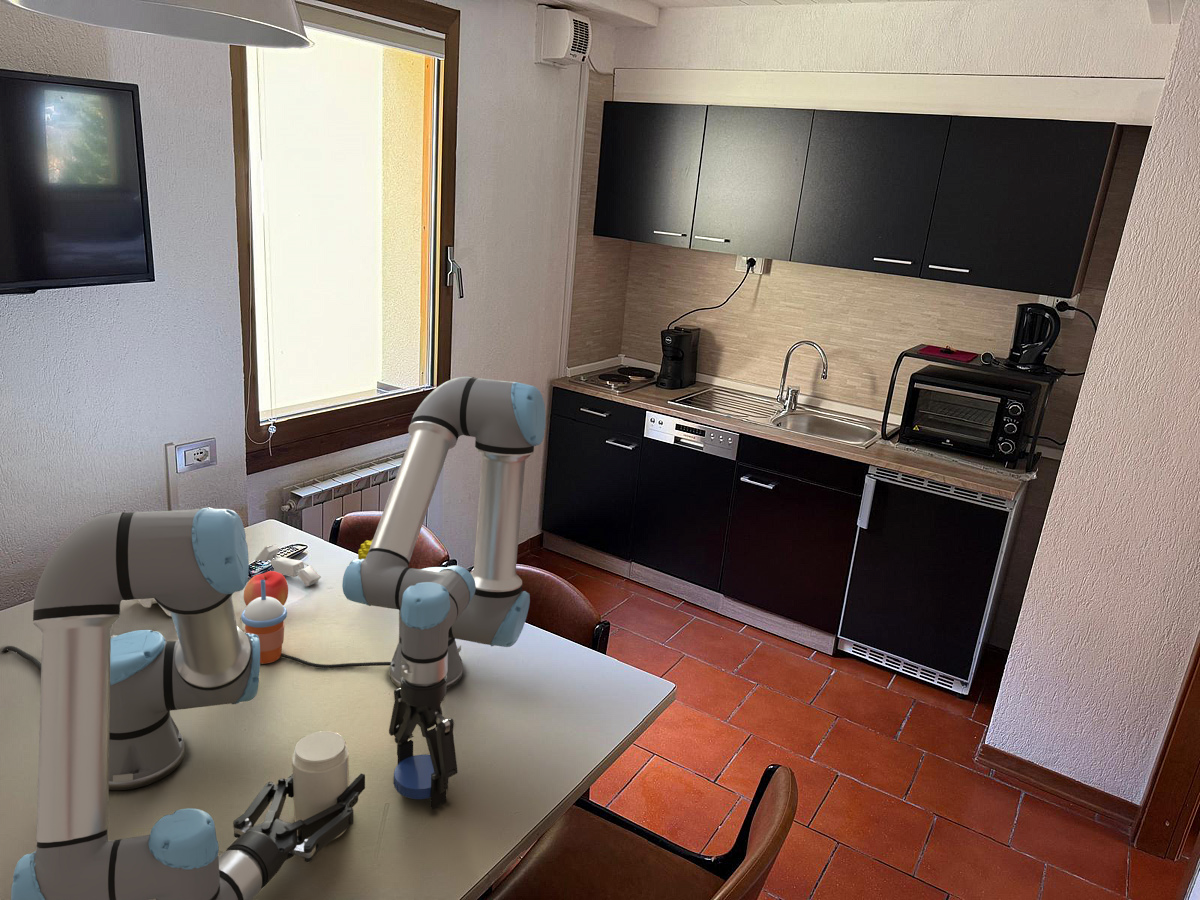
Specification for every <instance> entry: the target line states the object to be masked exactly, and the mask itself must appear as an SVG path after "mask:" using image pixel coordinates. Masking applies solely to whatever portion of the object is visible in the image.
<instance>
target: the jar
mask: <svg viewBox="0 0 1200 900" xmlns="http://www.w3.org/2000/svg"><path fill="white" fill-rule="evenodd" d="M293 750H294V753H293V754H292V757H291V768H292V769H291V770H292V774H293V797H292V798H293V823H294V822H296V821H298V820H302V821H303V820H305V819H307V818H309V817H311V816H313V815H315V814H317V813H319V812H321V811H323V810H325V809H327V808H329V807H331V806H333V805H335V804H337V798H338V797H339V796H340V795H341V794H342V793H343V792H344V791H345V790H346V789H347V788H348V787H349V785H350V779H349V778H350V773H349V772H350V765H349V763H350V762H349V761H350V760H349V757H350V756H349V749H348V746H347V742H346V740H345V738H344V737H343V736H342V734H339V733H338V732H335V731H332V730H319V731H314V732H310V733H308V734H306V735H304V736H303V737H301V738H300V739H299V740H298V741H297V743H296V744H295V746H294V749H293ZM346 831H347V829H346V830H345V831H344V832H342V833H341V834H340V835H339V836H337V837H336V838H335V839H333V840H332V841H334V840H336V839H337V838H339V837H341V836H342V835H343V834H344V833H345V832H346ZM297 836H298V830H297ZM309 838H310V837H309ZM309 838H307V839H309Z"/></svg>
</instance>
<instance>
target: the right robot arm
mask: <svg viewBox="0 0 1200 900" xmlns="http://www.w3.org/2000/svg"><path fill="white" fill-rule="evenodd" d="M546 419H547V417H546V405H545V400H544V397H543V394H542V392H541V391H540V389H538V388H537V386H535V385H532V384H527V383H522V382H519V381H510V380H509V381H508V380H501V379H500V380H499V379H490V378H479V377H474V376H458V377H454V378H451V379H449V380H447V381H445V382H443V383H441V384H440V385H438V386H437V387H436V388H435V389H433V390H432V391H431V392H430V393H429V394H428V395H427V396H426V397H425V398H424V399H423V400H422V402H421V403H420V404H419V405H418V407H417V409H416V410H415V411H414V413H413V415H412V418H411V420H410V423H409V425H408V429H407V432H408V435H410V438H409V440H408V444H407V445H406V449H405V451H404V454H403V457H402V460H401V462H400V465H399V467H398V471H397V473H396V476H395V478H394V480H393V481H394V482H393V483H392V486H391V489H390V492H389V495H388V498H387V500H386V503H385V506H384V509H383V511H382V514H381V516H380V519H379V522H378V524H377V527H376V530H375V533H374V535H373V538H372V539H373V541H372V540H371V541H372V543H371V546H370V549H369V552H368V554H367V556H366V559H358V558H356V559H353V560H351V561H350V563H349V564H348V565H347V566H346V568H345V570H344V573H343V577H342V585H341V586H342V587H341V588H342V592H343V595H344V597H345V598H346V599H347V600H349V601H350V602H354V603H357V604H362V605H366V606H368V607H379V608H385V609H391V610H398V643H397V645H396V648H395V651H394V653H393V656H392V659H391V660H390V661H370V662H369V661H368V662H347V663H336V664H335V663H334V664H333V663H332V664H326V663H325V664H323V663H314V662H310V661H308V660H304V659H301V658H298V657H296V656H292V655H289V654H286V653H281V656H280V658H282V659H283V658H284V659H287V660H291V661H294V662H297V663H299V664H302V665H305V666H308V667H313V668H319V669H339V668H340V669H341V668H355V667H356V668H357V667H378V666H385V667H386V666H389V679H390V681H391V682H392V683H393V684H394V685H395V686H396V687H398V688H397V689H394V690H393V701H394V702H393V708H392V713H391V716H390V717H391V718H390V723H389V728H388V734H389V735H390V736H391V737H393V736H394V742H395V744H396V757H397V765H398V764H399V763H400V762H401V761H402V760H404V759H406V758H408V757H411V756H414V741H413V739H412V738H414V731H415V729H416V727H417V726H418V727H419V730H420V733H421V736H422V737H423V738H425V741H426V746H427V749H428V753H429V755H430V757H431V761H432V765H433V769H434V773H432V774H431V797H430V805H429V806H430V808H431V809H432V810H435V809H436V808H438V807H440V806H441V805H443V804H445V803H447V790H448V788H449V779H450V778H451V777H453V776H455V775H457V774H458V772H459V771H458V763H457V754H456V747H455V739H454V727H455V721H454V719H453V718H452V717H450V718H446V717H445V716H443V710H442V703H443V701H444V699H445V698H446V696H447V689H450V688H451V687H453V686H455V685H456V684H457V683H458V682H459V681H460V680H461V679H462V676H463V672H464V664H463V660H462V657H461V656H460V652H461V650H462V645H460V646H459V647H458V646H457V642H456V640H461V641H466V642H471V643H476V644H482V645H487V646H490V647H503V648H509V647H512V646H514V645H515V644H516V643H517V641H518V640H519V638H520V636H521V633H522V631H523V629H524V626H525V623H526V621H527V617H528V612H529V609H530V603H531V598H530V597H531V595H530V593H529V592H527V591H526V590H523V579H522V578H521V577H520V576H519V575H518V574H517V564H518V563H517V561H518V551H519V540H520V539H519V538H520V529H521V528H520V526H521V516H522V504H523V503H522V502H523V492H524V491H523V490H524V481H525V480H524V479H525V468H526V461H527V459H528V458H529V457H530V456H532V455H533V454H534V452H535V447H536V446H540V445H541V444H542V442H543V441H544V437H545V430H546V423H547V422H546ZM461 436H465V437H472V438H475V443H474V449H475V450H476V451H477V453H479V455H480V457H481V465H480V477H479V478H480V480H479V491H478V492H479V493H478V505H477V518H476V519H477V520H476V530H475V531H476V532H475V533H476V534H475V545H474V559H473V570H471V572H470V571H469V570H468V569H467V568H466V567H465V568H464V567H462V566H461V565H456V564H455V565H448V566H447V567H444V566H430V567H426V568H425V567H424V568H414V567H410V566H409V565H410V561H411V559H412V556H413V553H414V550H415V548H416V545H417V541H418V538H419V535H420V533H421V530H422V527H423V524H424V521H425V518H426V516H427V513H428V510H429V507H430V504H431V502H432V498H433V495H434V493H435V490H436V487H437V484H438V481H439V479H440V475H441V473H442V469H443V467H444V464H445V462H446V458H447V455H448V453H449V450H452V449H453V448H455V447H456V446H457V442H458V440H459V437H461ZM397 765H396V766H397ZM448 778H449V779H448Z"/></svg>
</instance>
